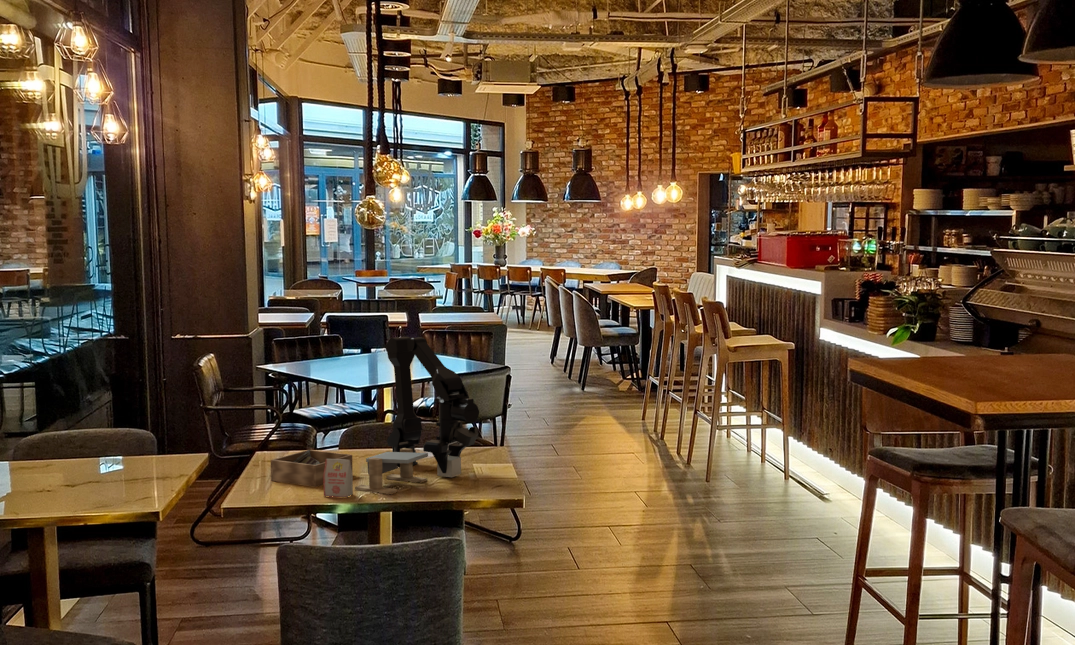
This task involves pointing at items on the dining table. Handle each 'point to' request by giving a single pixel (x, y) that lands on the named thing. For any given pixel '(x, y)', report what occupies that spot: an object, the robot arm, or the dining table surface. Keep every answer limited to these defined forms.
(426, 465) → the dining table surface
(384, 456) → the dark grey slab
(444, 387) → the robot arm
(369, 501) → the dining table surface
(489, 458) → the dining table surface
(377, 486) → the stand
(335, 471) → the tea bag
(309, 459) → the chocolate cake
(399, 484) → the dining table surface
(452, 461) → the pale grey cube
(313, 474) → the open wooden box
